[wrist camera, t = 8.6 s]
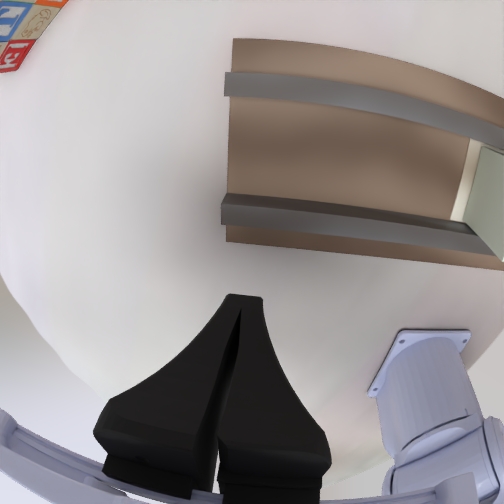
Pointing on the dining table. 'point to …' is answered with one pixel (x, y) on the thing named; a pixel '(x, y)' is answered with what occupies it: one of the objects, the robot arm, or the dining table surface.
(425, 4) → the dining table surface
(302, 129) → the chute
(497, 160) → the sage block
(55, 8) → the stack of blocks
